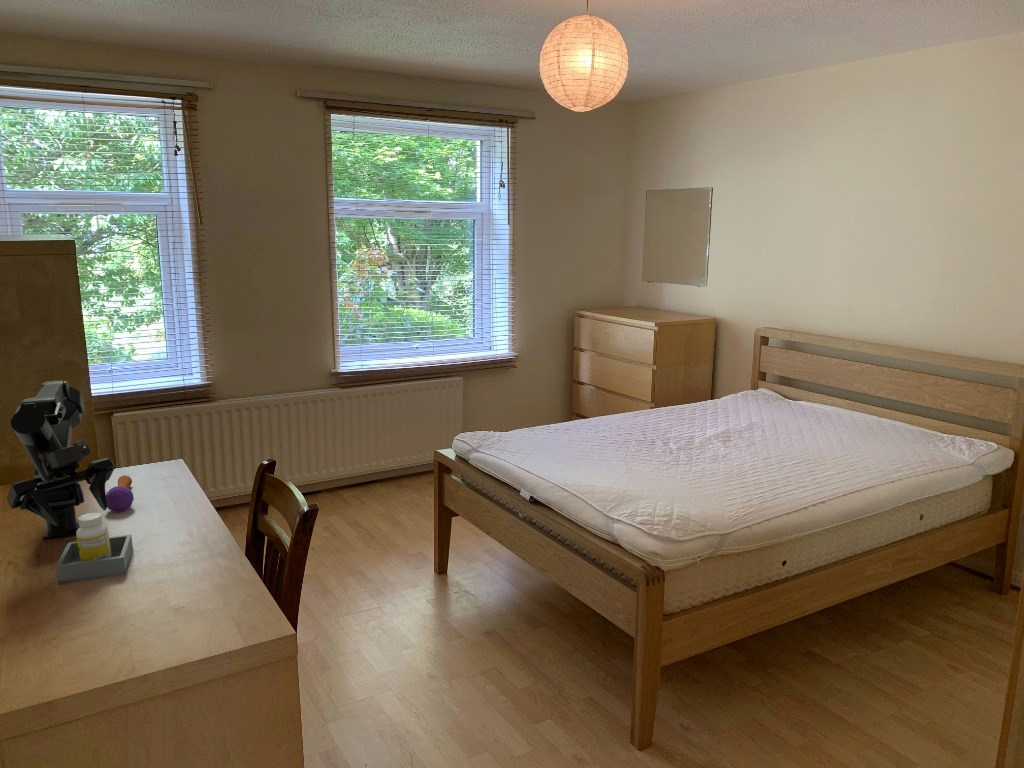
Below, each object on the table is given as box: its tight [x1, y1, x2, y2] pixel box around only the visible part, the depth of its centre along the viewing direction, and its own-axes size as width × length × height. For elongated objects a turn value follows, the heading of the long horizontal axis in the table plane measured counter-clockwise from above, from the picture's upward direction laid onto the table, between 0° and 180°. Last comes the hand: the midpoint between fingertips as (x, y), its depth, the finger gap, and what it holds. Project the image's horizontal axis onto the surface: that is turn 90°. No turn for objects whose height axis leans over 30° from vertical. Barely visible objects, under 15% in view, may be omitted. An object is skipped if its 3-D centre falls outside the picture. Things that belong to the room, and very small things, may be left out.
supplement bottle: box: [76, 512, 112, 562], centre depth 147 cm, size 5×5×10 cm
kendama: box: [106, 474, 135, 513], centre depth 183 cm, size 6×6×20 cm
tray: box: [55, 533, 134, 585], centre depth 148 cm, size 11×11×4 cm
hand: (82, 516), depth 148 cm, fingers open, 9 cm apart
